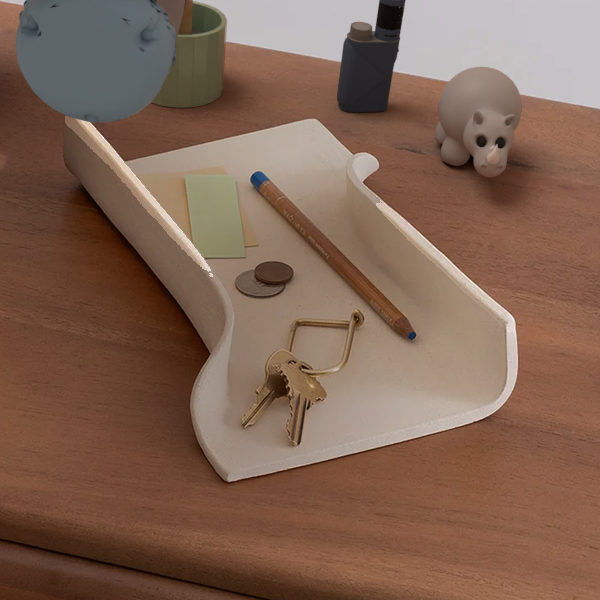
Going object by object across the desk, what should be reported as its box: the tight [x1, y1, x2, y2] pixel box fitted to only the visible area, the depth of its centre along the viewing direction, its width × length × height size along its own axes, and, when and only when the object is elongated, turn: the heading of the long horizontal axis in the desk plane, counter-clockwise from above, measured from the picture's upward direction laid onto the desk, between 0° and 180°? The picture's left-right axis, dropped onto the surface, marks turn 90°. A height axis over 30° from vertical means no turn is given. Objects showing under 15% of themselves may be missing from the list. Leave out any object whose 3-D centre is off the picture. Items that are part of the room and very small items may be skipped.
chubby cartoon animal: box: [434, 66, 523, 178], centre depth 92 cm, size 7×12×8 cm, turn 179°
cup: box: [150, 0, 228, 109], centre depth 100 cm, size 9×9×7 cm
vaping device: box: [336, 0, 406, 113], centre depth 99 cm, size 3×5×12 cm, turn 102°
